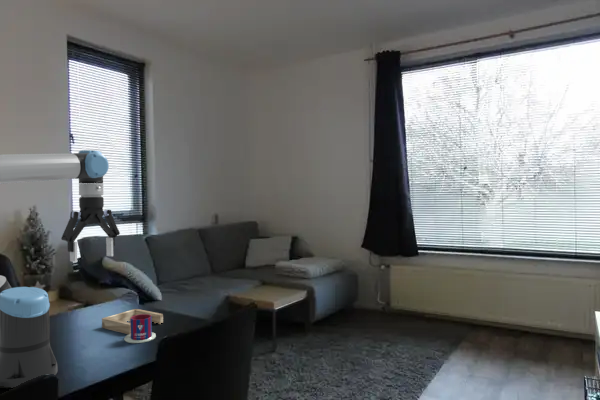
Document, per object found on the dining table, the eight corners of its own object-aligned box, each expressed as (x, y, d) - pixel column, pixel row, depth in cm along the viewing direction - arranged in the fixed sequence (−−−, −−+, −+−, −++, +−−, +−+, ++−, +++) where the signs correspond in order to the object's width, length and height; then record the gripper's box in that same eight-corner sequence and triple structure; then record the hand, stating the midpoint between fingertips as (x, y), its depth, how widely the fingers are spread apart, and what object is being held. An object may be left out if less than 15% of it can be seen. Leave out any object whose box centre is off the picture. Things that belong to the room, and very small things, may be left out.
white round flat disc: (138, 345, 145) (138, 343, 145) (117, 339, 150) (117, 338, 150) (162, 336, 154) (162, 334, 154) (142, 331, 159) (142, 329, 159)
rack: (129, 334, 156) (129, 324, 155) (102, 327, 163) (101, 318, 163) (163, 323, 168) (162, 314, 168) (136, 317, 176) (135, 308, 176)
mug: (129, 341, 147) (129, 320, 147) (133, 331, 157) (132, 312, 157) (151, 339, 149) (150, 318, 149) (153, 330, 159) (152, 310, 158)
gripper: (62, 197, 140) (63, 265, 140) (129, 195, 161) (130, 254, 162) (48, 196, 143) (49, 263, 144) (115, 195, 165) (116, 253, 166)
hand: (92, 258), depth 153 cm, fingers open, 13 cm apart
